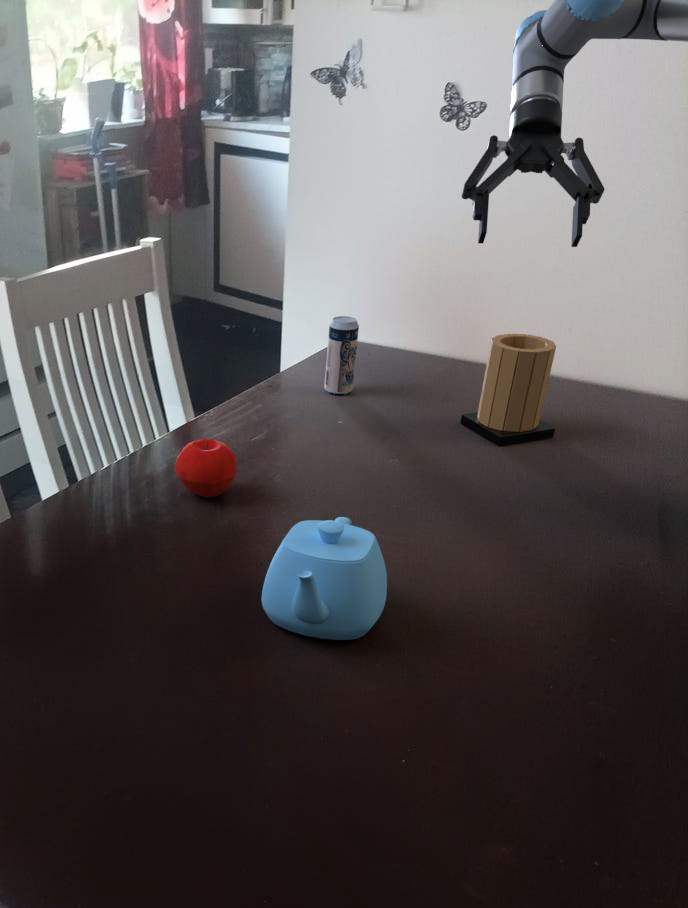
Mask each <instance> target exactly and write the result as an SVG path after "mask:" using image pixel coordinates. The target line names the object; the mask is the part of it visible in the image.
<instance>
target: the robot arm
mask: <svg viewBox="0 0 688 908" xmlns="http://www.w3.org/2000/svg"><path fill="white" fill-rule="evenodd" d="M591 40H650V41H663V42H665V41H666V42H668V41H671V42H684V43H688V0H554V1H553V2H552V3H551V5H550V6H549V7H548V8H547V9H543V10H538V11H535V12H534V13H533V14H531V15H530V16H527V17H526V18H524V20H523V21H521V23H520V24H519V26H518V28H517V30H516V34H515V41H514V45H513V47H514V48H513V49H512V78H511V101H510V111H509V112H510V114H509V115H510V118H509V132H508V134H509V135H508V140H507V141H506V140H499V137H498V136H497V135H491V136H490V137H489V139H488V140H489V141H488V144H487V147H486V150H485V152H484V153H483V155H482V156H481V157H480V159H479V161H478V163H476V165H475V167H474V169H473V170H472V172H471V173H470V175H469V176H468V177H467V179H466V181H465V183H463V188H462V192H461V198H462V199H463V200H468V199H469V200H471V201H472V203H471V204H472V220H473V221H479V222H478V223H479V224H478V237H477V238H478V239H477V243H478V244H484V242H485V239H486V236H487V232H488V218H489V201H490V194H491V193H492V192H494V190H496V188H497V187H498V186H500V185H501V184H502V183H503V182H504V181H505V180H506V179H507V178H509V177H511V176H512V175H513V174H514V173H515V172H516V171H517V170H518V171H519V172H520V173H521V174H528V173H535V174H543V172H545V173H546V174H547V175H548V177H550V178H551V179H552V178H553V179H554V180H555V181H556V182H557V183H558V184H559V186H561V187H562V189H563V190H564V191H565V192H566V193H567V194H568V195H569V196H570V197H571V199H572V200H574V202H575V203H574V205H573V207H572V223H571V224H572V225H571V226H572V227H571V246H570V247H572V248H577V247H578V245H579V243H580V242H581V239H582V237H583V225H586V224H587V222H588V220H589V219H590V217H591V204H594V205H595V204H598V203H599V202H600V200H601V199H602V196H603V195H604V192H605V190H606V189H605V186H604V184H603V183H602V181H601V179H600V177H599V176H598V174H597V171H596V170H595V168H594V166H593V164H592V162H591V160H590V159H589V157H588V154H587V153H586V152H585V145H584V144H585V143H584V139H583V138H582V137H576V138H575V139H574V141H573V142H564V140H563V138H562V128H563V127H562V126H563V125H562V124H563V105H564V84H565V83H564V81H565V69H566V67H567V65H568V64H569V63H570V62H571V61H572V60H573V58H574V57H576V55H578V53H580V51H581V50H582V49H583V47H585V45H586V44H587V43H588V42H589V41H591ZM542 45H543V46H542ZM503 152H504V154H505V156H506V157H507V158H506V160H504V162H503V163H501V164H500V165H499V166H498V167H497V168H496V169H495V170H494V171H492V172H491V174H489V175H488V176H487V177H486V178H485V179H484V180H482V179H483V177H484V176H485V174H486V172H487V171H488V169H489V167H490V166H491V164H492V162H493V161H494V159H496V158H497V157H499V156H500V154H501V153H503ZM562 154H565V155H566V157H567V161H570V162H571V166H572V168H573V169H572V168H571V167H570V166H569V165H568V164H567V163H566V162H565V158H564V156H563V155H562ZM573 170H574V171H573ZM481 180H482V182H481ZM480 182H481V183H480ZM479 183H480V184H479ZM478 184H479V185H478Z"/></svg>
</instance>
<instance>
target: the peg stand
mask: <svg viewBox="0 0 688 908" xmlns="http://www.w3.org/2000/svg"><path fill="white" fill-rule="evenodd" d="M477 414H478V411H476V412H469V413H462V414H461V417H460V422H459V423H460V424H461V425H462V426H464V427H466V428H467V429H469V430H470V431H472V432H474V433H476V434H477V435H478V436H481V437H482V438H484V439H485V440H487V441H489V442H490V443H492V444H495V445H496V446H498V447H503V446H509V445H516V444H522V443H528V442H534V441H540V440H546V439H553V438H554V435H555V431H556V428H555V427H553V426H552V425H550V424H547V423H546V422H544V421H542V420H540V421H539V425H538V426H537V427H536V428H534V429H533V430H529V431H523V432H511V431H504V430H503V431H501V430H497V429H493V428H489V427H487V426H485V425H483V424H481V423H480V422H479V421H478V418H477Z"/></svg>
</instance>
